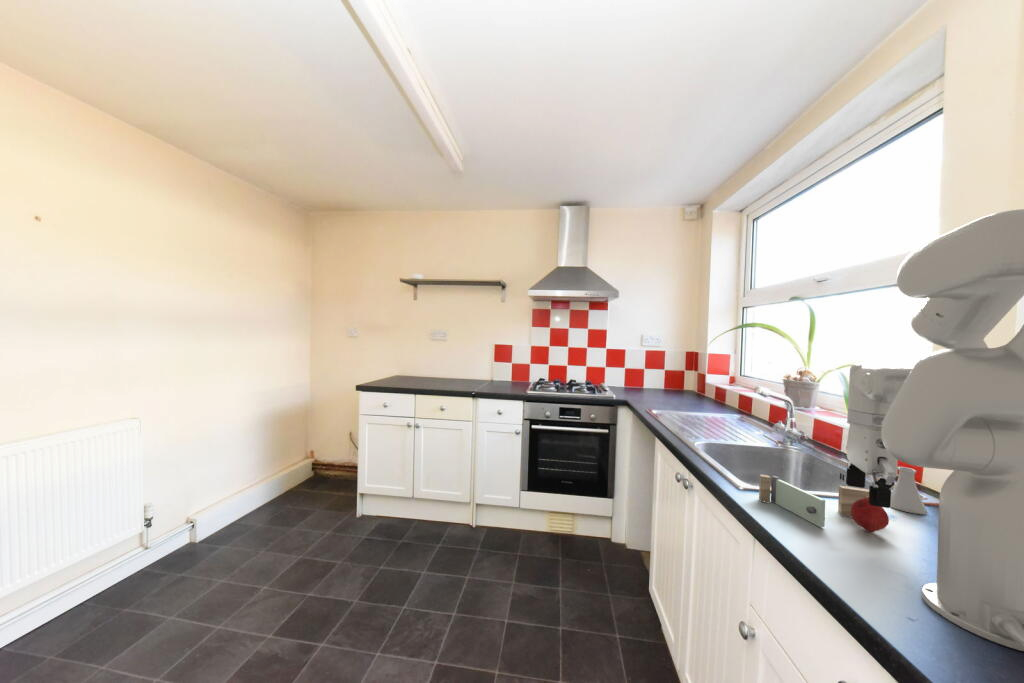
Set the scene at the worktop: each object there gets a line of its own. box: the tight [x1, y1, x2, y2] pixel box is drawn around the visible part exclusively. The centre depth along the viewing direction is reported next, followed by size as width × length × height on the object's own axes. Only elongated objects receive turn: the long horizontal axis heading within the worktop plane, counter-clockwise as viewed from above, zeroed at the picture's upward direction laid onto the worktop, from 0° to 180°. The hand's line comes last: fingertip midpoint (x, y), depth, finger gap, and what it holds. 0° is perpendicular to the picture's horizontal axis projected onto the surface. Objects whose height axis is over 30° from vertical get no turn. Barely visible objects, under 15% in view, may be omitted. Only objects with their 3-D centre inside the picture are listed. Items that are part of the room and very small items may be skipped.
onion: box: [850, 496, 890, 533], centre depth 77 cm, size 6×6×8 cm
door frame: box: [758, 474, 869, 518], centre depth 87 cm, size 2×23×6 cm, turn 67°
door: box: [770, 475, 826, 528], centre depth 85 cm, size 2×13×6 cm, turn 7°
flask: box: [890, 466, 928, 516], centre depth 89 cm, size 7×7×10 cm
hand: (866, 495), depth 78 cm, fingers open, 9 cm apart
